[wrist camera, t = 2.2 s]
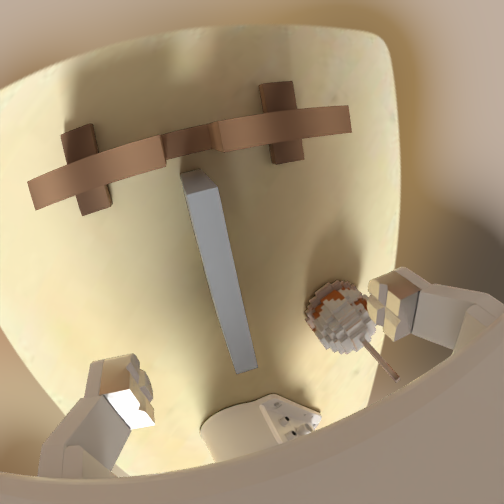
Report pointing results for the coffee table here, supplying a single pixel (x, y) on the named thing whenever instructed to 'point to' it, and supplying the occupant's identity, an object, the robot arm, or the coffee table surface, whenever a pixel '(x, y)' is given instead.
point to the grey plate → (219, 266)
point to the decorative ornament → (343, 321)
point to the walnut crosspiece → (184, 147)
